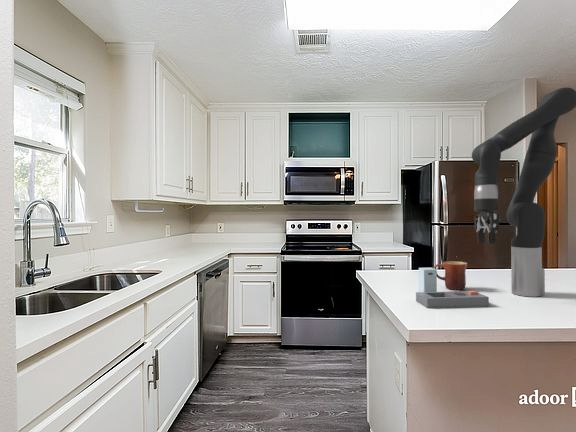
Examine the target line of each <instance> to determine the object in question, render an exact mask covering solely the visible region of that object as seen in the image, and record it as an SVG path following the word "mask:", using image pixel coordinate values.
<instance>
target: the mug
mask: <svg viewBox="0 0 576 432" xmlns="http://www.w3.org/2000/svg"><path fill="white" fill-rule="evenodd" d="M437 267H441V268H443V270H444V276H440V275H439V274H438V273H437V278H438V280H442V281H444V287H445V288H446V289H447V290H449V291H457V290H459V291H465V289H466V284H467V281H466V270H467V267H468V262H464V261H451V260H450V261H443V262H442V263H437V264H435V265H434V267H433V268H434V269H437Z"/></svg>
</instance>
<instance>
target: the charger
mask: <svg viewBox="0 0 576 432" xmlns="http://www.w3.org/2000/svg"><path fill="white" fill-rule="evenodd" d="M437 270H438V269H437V268H436V269H434V267H418V292H438V288H437V287H438V285H437V283H438V282H437V280H438V279H437V274H438V271H437Z"/></svg>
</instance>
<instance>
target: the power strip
mask: <svg viewBox="0 0 576 432" xmlns="http://www.w3.org/2000/svg"><path fill="white" fill-rule="evenodd" d="M489 299H490V298H489V296H488V295H484V294H482V293H479V292H478V291H477V290H476V291H475V290H459V291H457V290H449V291H437V292H419V291H418V292H415V301H416V302H417V304H418V303H419V304H420V305H421V306H423V307H425V308H427V309H436V308H437V309H439V308H442V309H443V308H444V309H445V308H475V307H477V308H479V307H480V308H481V307H489V305H490V304H489V303H490V301H489Z"/></svg>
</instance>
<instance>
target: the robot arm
mask: <svg viewBox="0 0 576 432" xmlns="http://www.w3.org/2000/svg"><path fill="white" fill-rule="evenodd" d="M575 108H576V90H575V89H574V88H572V87H566V86H565V87H561V88H557V89H555V90H553V91H551V92H549V93H546V94H545V95H543V96H542V97H541V98H540V100H539V101H538V103H537V106H536V108H535V109H534V110H532V111H531V112H529V113H527V114H525V115H524V116H522V117H521V118H518V119H517V120H515V121H513V122H512V123H510V124H508V125H507V126H505V127H504V128H503V129H501V130H499V131H498V132H497V133H496V134H494V135H493V136H492V137H489V138H488V139H486V140H485V141H483V142H482V143H480V144H479V145H477V146H476V147H475V148H474V149H473V150H472V153H471V159H472V161H473V162H475V163H476V164H479V167H478V169H477V170H476V171H475V174H474V191H473V196H474V197H473V199H474V201H473V202H474V203H473V206H474V208H473V209H474V212H477V213H478V214H475V215H474V225H473V226H474V231H476V233H477V243H479V244H485V241H486V240H485V239H486V238H485V234H486V233H485V232H486V230H487V243H488V244H489V245H494V244H496V243H497V242H496V241H497V239H496V238H497V237H496V233H497V232H499V231H500V215H499V213H494V212H498V211H499V188H498V170H499V166H500V161H501V157H502V152H503V153H504V151H506V150H508V149H509V150H510V149H511V148H513V147H514V146H515V145H517V144H518V143H520V142H521V141H523V140H524V139H525V138H527V137H528V136H530V135H531V136H530V139H529V140H530V141H529V143H528V146H527V147H528V148H527V150H526V153H525V157H524V159H523V165H522V169H521V172H520V176H519V178H518V182H517V184H516V187H515V188H516V189H515V191H514V193H513V196H512V197H511V201H510V202H509V206H508V207H507V210H506V220H507V222H508V224H509V225H510V226H512V227H514V228H517V234H516V235H515V236H514V237H513V238H511V240H510V250H511V251H510V252H511V253H510V254H511V255H510V259H511V260H510V263H511V264H510V267H511V269H510V270H511V271H510V272H511V282H510V283H511V288H510V289H511V294H514V295H517V296H523V297H530V298H531V297H535V298H537V297H541V296H545V293H546V285H545V283H546V282H545V280H546V278H545V276H546V273H545V272H546V271H545V268H544V267H543V263H542V262H543V260H542V259H543V256H542V255H543V254H542V253H543V251H542V249H543V248H542V243H543V241H544V239H545V233H546V232H545V231H546V213H545V210H544V208H543V206H542V205H541V204H539V203H537V202H534V201H535V197H536V194H537V192H538V190H539V189H540V188H541V186H542V185H543V184H544V183H545V181H547V179H548V178H549V176H550V175H551V173H552V171H553V169H554V165H555V163H556V159H557V156H558V146H557V143H556V139H555V129H556V126H557V123H558V120H559V118H560V117H561V116H563V115H566V114H568V113H570V112H572V111H573V110H574V109H575Z"/></svg>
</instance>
